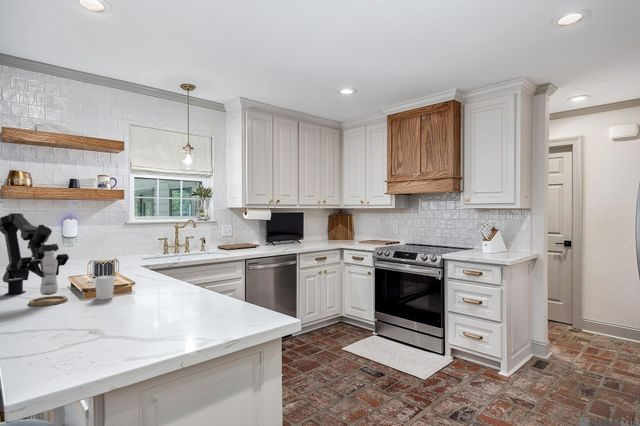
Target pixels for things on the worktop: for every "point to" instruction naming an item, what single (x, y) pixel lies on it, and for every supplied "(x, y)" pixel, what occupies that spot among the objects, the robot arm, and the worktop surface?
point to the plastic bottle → (49, 274)
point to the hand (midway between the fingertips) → (50, 275)
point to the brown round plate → (48, 301)
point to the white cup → (104, 287)
